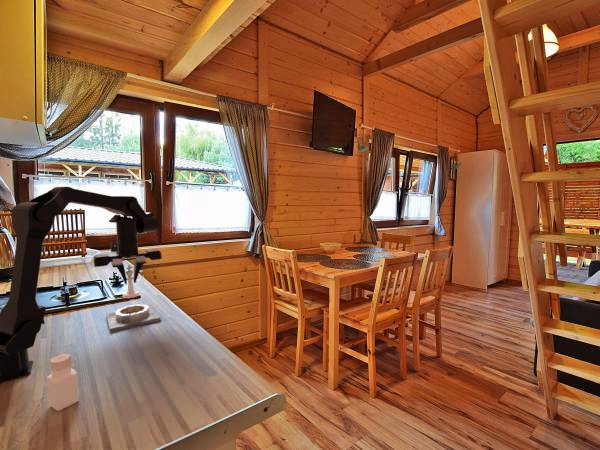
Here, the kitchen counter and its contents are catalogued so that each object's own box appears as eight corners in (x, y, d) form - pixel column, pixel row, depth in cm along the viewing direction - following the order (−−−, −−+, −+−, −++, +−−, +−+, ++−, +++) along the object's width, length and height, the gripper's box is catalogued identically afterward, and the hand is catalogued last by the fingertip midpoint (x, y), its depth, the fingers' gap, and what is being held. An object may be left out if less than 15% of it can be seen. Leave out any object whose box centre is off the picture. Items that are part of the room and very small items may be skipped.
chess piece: (119, 296, 100) (116, 266, 99) (133, 292, 104) (131, 263, 103) (128, 299, 98) (126, 268, 97) (142, 294, 102) (141, 264, 101)
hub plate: (160, 320, 101) (159, 311, 100) (110, 332, 92) (109, 322, 92) (152, 307, 112) (151, 299, 111) (106, 317, 104) (105, 308, 103)
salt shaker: (57, 413, 59) (52, 365, 58) (48, 405, 61) (43, 360, 60) (81, 401, 62) (76, 356, 61) (71, 394, 64) (67, 350, 63)
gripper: (153, 231, 111) (156, 273, 113) (91, 235, 100) (94, 282, 102) (160, 234, 102) (163, 280, 104) (92, 239, 91) (96, 291, 93)
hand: (130, 283), depth 101 cm, fingers closed on chess piece, 2 cm apart
